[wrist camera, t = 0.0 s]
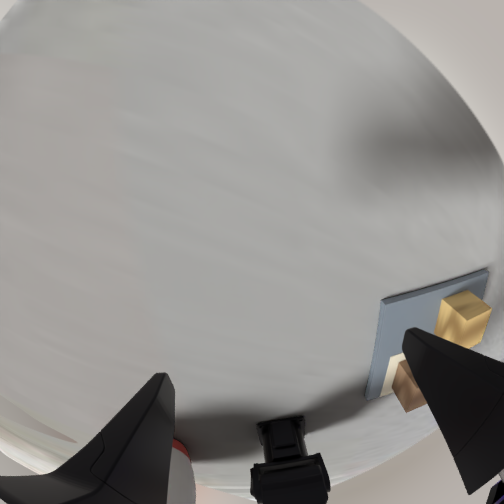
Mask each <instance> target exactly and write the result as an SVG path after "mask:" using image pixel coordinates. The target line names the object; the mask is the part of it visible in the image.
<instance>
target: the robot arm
mask: <svg viewBox="0 0 504 504" xmlns="http://www.w3.org/2000/svg"><path fill="white" fill-rule="evenodd" d="M402 351H403V353H404V356H405V358H406V360H407V363H408V365H409V367H410V370H411V372H412V375H413V377H414V379H415V381H416V383H417V385H418V387H419V389H420V391H421V393H422V394H423V396H424V398H425V400H426V402H427V404H428V406H429V408H430V410H431V412H432V414H433V416H434V418H435V420H436V422H437V424H438V426H439V428H440V430H441V432H442V434H443V436H444V438H445V440H446V442H447V445H448V447H449V449H450V451H451V453H452V456H453V457H454V461H455V463H456V465H457V467H458V470H459V473H460V475H461V478H462V480H463V482H464V485H465V488H466V490H467V493H468V495H471V494H472V493H473V492H475V491H476V490H478V489H479V488H480V487H482V486H483V485H484V484H486V483H487V482H488V481H489V480H491V479H492V478H493V477H494V476H496V475H497V474H499V476H500V477H501V480H500V481H499V482H497V484H495V485H494V486H493V487H492V488H491V490H490V493H489V496H488V499H487V502H486V504H504V363H503V362H500V361H497V360H495V359H492V358H490V357H487V356H484V355H482V354H480V353H477V352H475V351H472V350H470V349H468V348H465V347H463V346H460V345H458V344H455V343H453V342H451V341H448V340H446V339H443V338H441V337H438V336H436V335H434V334H431V333H429V332H426V331H424V330H422V329H419V328H417V327H412V328H409V329H407V330H406V331H405V334H404V338H403V343H402ZM174 427H175V389H174V386H173V384H172V382H171V380H170V378H169V376H168V374H167V373H156V374H154V375H153V376H152V378H151V379H150V380H149V381H148V382H147V383H146V384H145V385H144V386H143V387H142V388H141V389H140V390H139V391H138V392H137V393H136V394H135V395H134V397H133V398H132V399H131V400H130V401H129V402H128V403H127V404H126V405H125V406H124V407H123V408H122V409H121V410H120V411H119V412H118V413H117V414H116V415H115V416H114V417H113V418H112V420H111V421H110V422H109V423H108V424H107V425H106V426H105V427H104V428H103V429H102V430H101V432H99V433H98V434H97V435H96V436H95V437H94V438H93V439H92V440H91V441H90V442H89V443H88V444H87V445H86V446H85V447H83V448H82V449H81V450H80V451H79V452H78V453H76V454H75V455H74V456H73V457H71V458H70V459H69V460H68V461H66V462H65V463H64V464H63V465H61V466H60V467H59V468H58V469H56V470H55V471H53V472H51V473H48V474H43V475H31V476H0V499H2V500H3V501H4V502H6V503H7V504H167V494H168V482H169V472H170V462H171V453H172V445H173V436H174ZM304 427H305V419H304V417H303V416H299V417H294V418H288V419H283V420H277V421H270V422H263V423H258V424H257V430H258V434H259V438H260V442H261V445H262V446H263V450H264V458H265V463H261V464H258V463H256V464H254V467H253V468H252V469H250V472H251V488H250V493H251V495H252V496H254V497H255V499H256V500H257V503H258V504H326V503H327V500H328V494H327V492H330V480H329V476H328V473H327V470H326V467H325V465H324V462H323V459H322V457H321V454H320V453H316V454H314V455H309V456H308V453H307V449H306V445H305V441H304Z"/></svg>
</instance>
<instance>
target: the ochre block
mask: <svg viewBox="0 0 504 504" xmlns="http://www.w3.org/2000/svg"><path fill="white" fill-rule="evenodd" d="M491 310H492V308H491V307H490V306H488V305H487V304H486V303H485V302H483V301H482V300H481V299H479V298H478V297H477V296H475V295H474V294H473V293H471V292H470V291H469V290H466V291H463V292H460V293H458V294H455V295H452V296H449V297H446V298H444V299H442V301H441V306H440V310H439V314H438V318H437V322H436V326H435V330H434V334H435V335H436V336H438V337H441V338H443V339H446V340H448V341H451V342H453V343H455V344H458V345H460V346H463V347H465V348H468V349H469V348H471V347H473V346H474V345H476V344H478V343H480V342H481V339H482V337H483V334H484V331H485V328H486V326H487V323H488V320H489V317H490V314H491Z"/></svg>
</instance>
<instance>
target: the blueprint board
mask: <svg viewBox="0 0 504 504" xmlns="http://www.w3.org/2000/svg"><path fill="white" fill-rule="evenodd" d="M488 274H489V272H488V271H486V270H481V271H478V272H475V273H472V274H469V275H466V276H463V277H460V278H457V279H454V280H451V281H448V282H445V283H441V284H438V285H435V286H431V287H428V288H424V289H421V290H417V291H414V292H410V293H407V294H403V295H399V296H395V297H391V298H387V299H383V300H381V306H380V314H379V322H378V329H377V335H376V342H375V348H374V353H373V359H372V364H371V369H370V374H369V378H368V383H367V387H366V392H365V398H366V400H367V401H368V400H371V399H374V398H377V397H382V396H385V395H388V394H390V393H393V392H394V391H393V389H392V388H391V387H392V384H393V380H394V377H395V374H396V370H397V367H398V363H399V362H401V361H404V360H406V358H405V356H404V353H403V351H402V343H403V338H404V334H405V331H406V330H407V329H409V328H412V327H417V328H419V329H422V330H424V331H426V332H429V333H431V334H434V330H435V326H436V322H437V318H438V314H439V310H440V306H441V301H442V299H444V298H446V297H449V296H452V295H455V294H458V293H460V292H463V291H466V290H469V291H470V292H471V293H473V294H474V295H475V296H477V297H478V298H479V299H481V300H482V299H483V295H484V291H485V287H486V283H487V278H488ZM434 335H435V334H434Z"/></svg>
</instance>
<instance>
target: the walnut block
mask: <svg viewBox="0 0 504 504" xmlns="http://www.w3.org/2000/svg"><path fill="white" fill-rule="evenodd" d="M391 388H392V389H393V391H394V393H395V394H396V396H397V398H398V400H399V401H400V403H401V405H402V406H403V408H404V410H405V412H406V413H407V412H409V411H411V410H414V409H416V408H418V407H420V406H423V405H425V404H427V402H426V400H425V398H424V396H423V394H422V393H421V391H420V389H419V387H418V385H417V383H416V381H415V379H414V377H413V375H412V372H411V370H410V367H409V365H408V363H407V360H404V361H401V362H399V363H398V367H397V370H396V374H395V377H394V380H393V384H392V387H391Z"/></svg>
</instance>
